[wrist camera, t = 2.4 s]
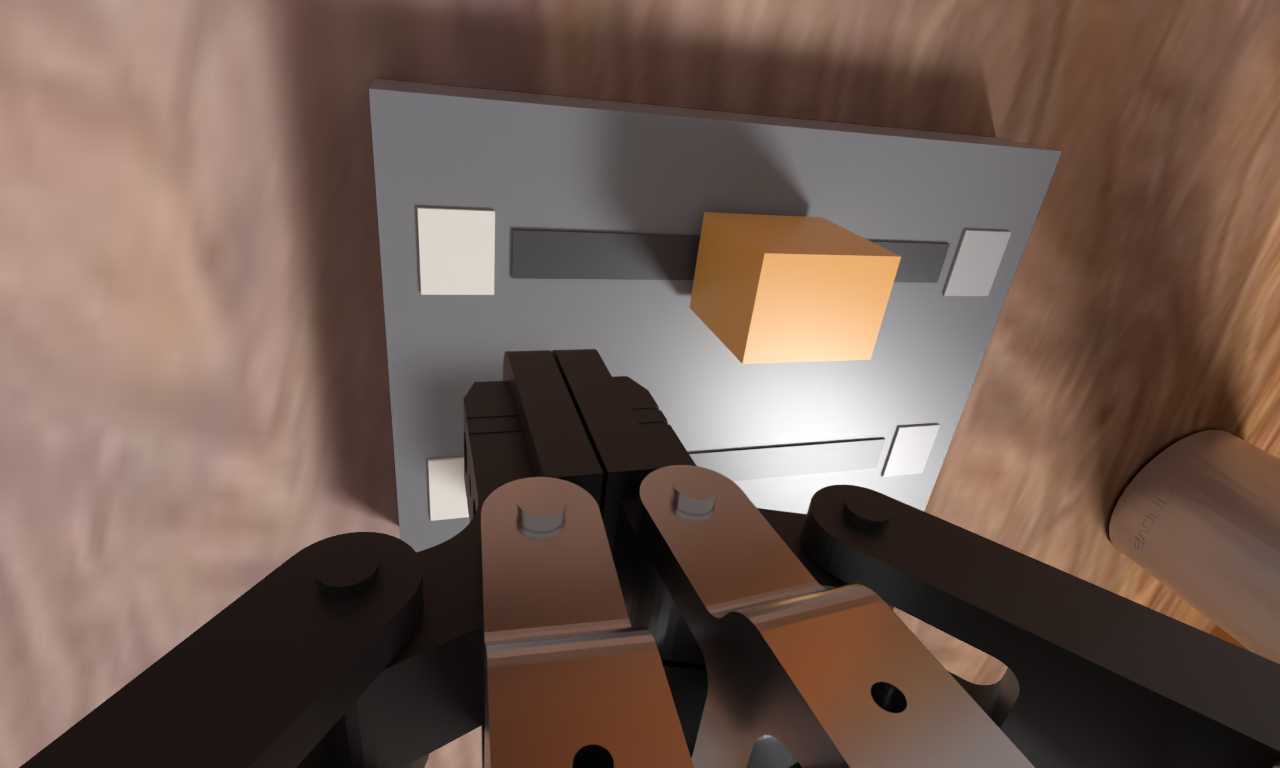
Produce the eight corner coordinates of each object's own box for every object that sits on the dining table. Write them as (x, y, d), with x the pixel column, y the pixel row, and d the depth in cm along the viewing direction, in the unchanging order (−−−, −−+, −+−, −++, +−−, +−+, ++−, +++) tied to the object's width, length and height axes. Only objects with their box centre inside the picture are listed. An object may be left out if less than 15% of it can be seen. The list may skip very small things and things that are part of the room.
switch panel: (997, 137, 25) (1064, 151, 23) (881, 482, 32) (921, 522, 30) (374, 78, 18) (368, 89, 16) (404, 529, 26) (403, 587, 23)
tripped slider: (822, 217, 21) (901, 256, 17) (800, 307, 22) (870, 359, 19) (704, 212, 19) (764, 253, 16) (689, 307, 21) (742, 363, 18)
